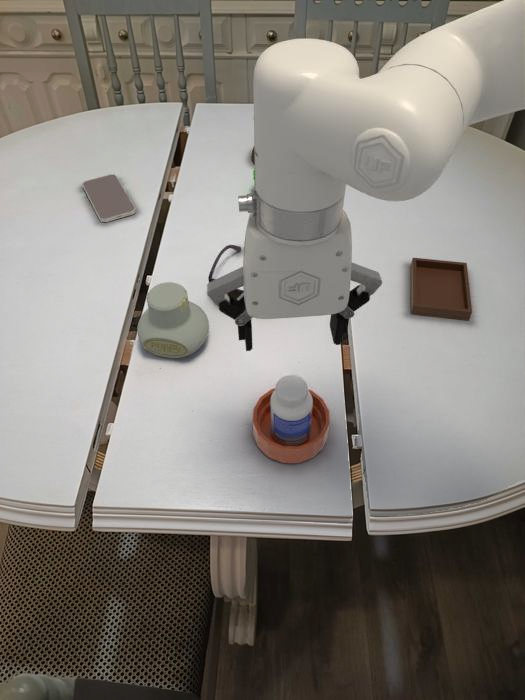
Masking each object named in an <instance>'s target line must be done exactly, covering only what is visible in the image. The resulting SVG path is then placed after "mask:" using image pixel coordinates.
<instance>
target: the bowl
mask: <svg viewBox="0 0 525 700" xmlns="http://www.w3.org/2000/svg"><path fill="white" fill-rule="evenodd" d="M275 388H276V387H274V388H271V389H270V390H268V391H266V392H265V393H264V394H263V395H261V396H260V397H259V399H258V400H257V402H256V404H255V405H254V407H253V411H252V433H253V438H254V441H255V443H256V445H257V447H258V449H259V450H260V451H262V452H263V454H264V455H265V456H266V457H268V458H270V459H272V460H275V461H277V462H279V463H282V464H299V463H303V462H305V461H308V460H311V459H313V458H314V457H316V455H317V454H319V453H320V452H321V451H322V450H323V449H324V446H325V444H326V442H327V440H328V438H329V430H330V420H331V419H330V410H329V408H328V406H327V404H326V402H325V400H324V399H323V398H322V397H321V396H320V395H318V394H317V393H316V392H315V391H313V390H312V389H309V388H308V391H309V392H310V394H311V396H312V399H313V407H312V419H311V431H310V435H309V437H308V439H307V440H306V441H305V442H304V443H302V444H300V445H297V446H285V445H282V444H280V443H279V442H277V441H276V440H275V438H274V437H273V435H272V431H271V406H270V400H271V396H272V393H273V392H274V390H275Z"/></svg>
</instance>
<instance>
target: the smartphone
mask: <svg viewBox="0 0 525 700" xmlns="http://www.w3.org/2000/svg"><path fill="white" fill-rule="evenodd" d="M82 188H83V190H84V193H85V194H86V196H87V198H88V200H89V202H90V204H91V206H92V207H93V210H94V212H95V214H96V216H97V217H98V220H99V221H100V222H101V223H109V222H112V221H115V220H119V219H122V218H125V217H129V216H132V215H135V214H136V211H137V209H136V206H135V205H134V203H133V201H132V200H131V198H130V196H129V195H128V193H127V191H126V190H125V188H124V187H123V185H122V183H121V181H120V179H119V178H118V176H117V175H116V174H114V173H112V174H111V173H110V174H107V175H103V176H100V177H99V176H98V177H96V178H92V179H88V180H84V181H83V182H82Z"/></svg>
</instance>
